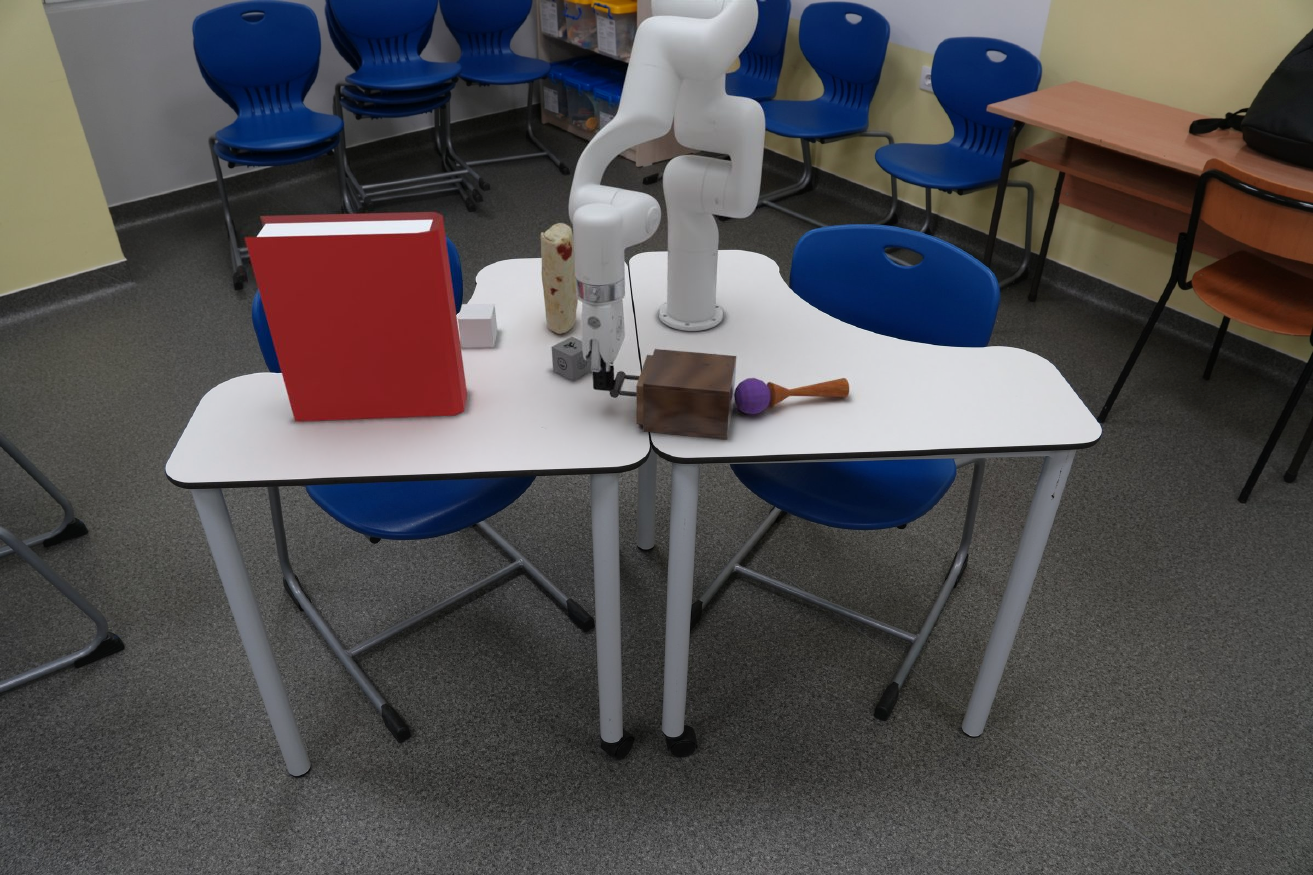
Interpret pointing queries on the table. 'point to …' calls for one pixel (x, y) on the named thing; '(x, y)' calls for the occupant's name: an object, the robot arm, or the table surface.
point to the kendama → (782, 393)
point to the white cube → (477, 325)
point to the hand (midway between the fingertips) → (603, 387)
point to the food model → (559, 277)
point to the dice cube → (570, 359)
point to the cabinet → (689, 394)
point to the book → (361, 314)
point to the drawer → (638, 394)
